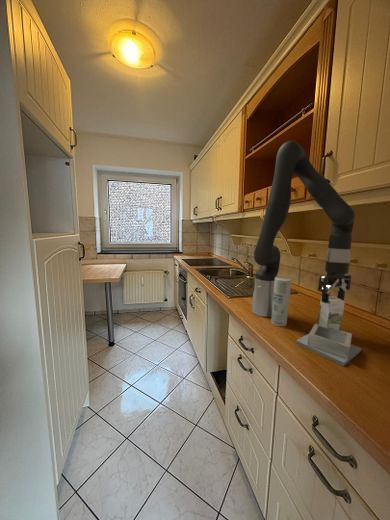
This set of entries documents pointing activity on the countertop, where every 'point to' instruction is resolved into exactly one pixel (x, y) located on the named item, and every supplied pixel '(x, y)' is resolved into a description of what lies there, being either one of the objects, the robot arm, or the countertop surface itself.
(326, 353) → the board
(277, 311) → the spray can
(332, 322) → the syrup box
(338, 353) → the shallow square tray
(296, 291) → the countertop surface
